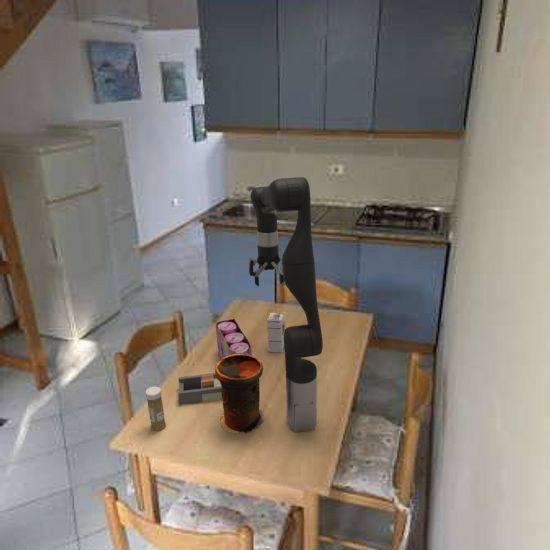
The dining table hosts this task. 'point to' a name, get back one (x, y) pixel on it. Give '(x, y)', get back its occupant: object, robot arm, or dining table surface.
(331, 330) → the dining table surface
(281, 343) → the syrup box
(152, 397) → the sprinkles bottle
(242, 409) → the vessel
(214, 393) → the channel
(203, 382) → the block
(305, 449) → the dining table surface
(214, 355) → the dining table surface
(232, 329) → the gum box
